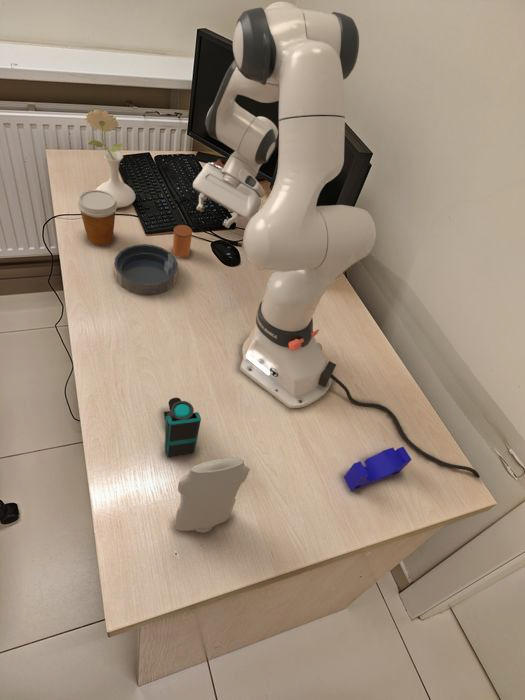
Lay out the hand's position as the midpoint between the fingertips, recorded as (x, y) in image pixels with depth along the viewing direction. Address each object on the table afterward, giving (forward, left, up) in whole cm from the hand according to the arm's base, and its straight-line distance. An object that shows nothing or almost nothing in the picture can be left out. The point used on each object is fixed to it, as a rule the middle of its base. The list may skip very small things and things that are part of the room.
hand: (211, 218), depth 129 cm
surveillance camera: (-49, +44, -6) cm, 66 cm away
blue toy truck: (-78, +17, -6) cm, 80 cm away
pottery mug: (+21, -19, -6) cm, 29 cm away
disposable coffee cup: (+11, +28, -6) cm, 31 cm away
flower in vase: (+26, +16, -6) cm, 31 cm away
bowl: (-7, +25, -6) cm, 26 cm away
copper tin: (-3, +12, -6) cm, 14 cm away
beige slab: (-66, +50, -6) cm, 83 cm away
